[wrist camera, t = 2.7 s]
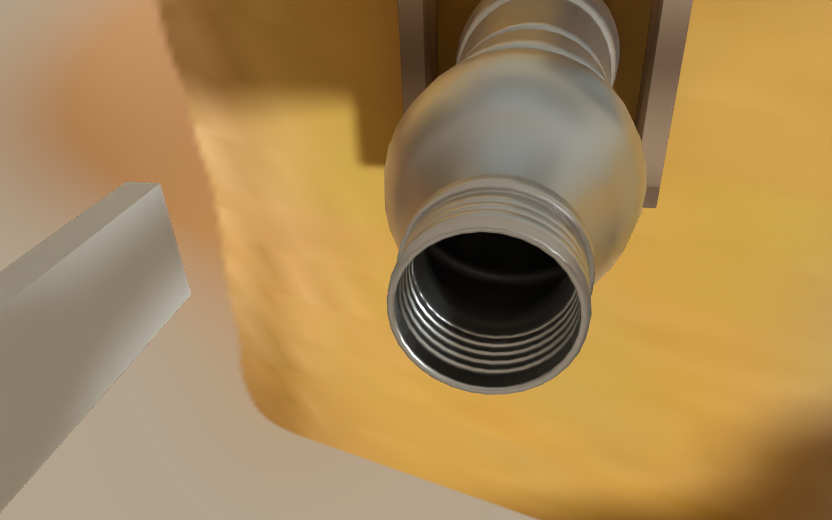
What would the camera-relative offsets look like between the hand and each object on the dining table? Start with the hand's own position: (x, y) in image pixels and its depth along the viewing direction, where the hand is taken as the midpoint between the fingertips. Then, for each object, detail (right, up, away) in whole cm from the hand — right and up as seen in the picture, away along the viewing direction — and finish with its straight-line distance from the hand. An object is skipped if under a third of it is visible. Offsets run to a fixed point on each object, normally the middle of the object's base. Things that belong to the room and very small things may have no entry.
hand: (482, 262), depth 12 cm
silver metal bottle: (+4, +9, +16) cm, 19 cm away
